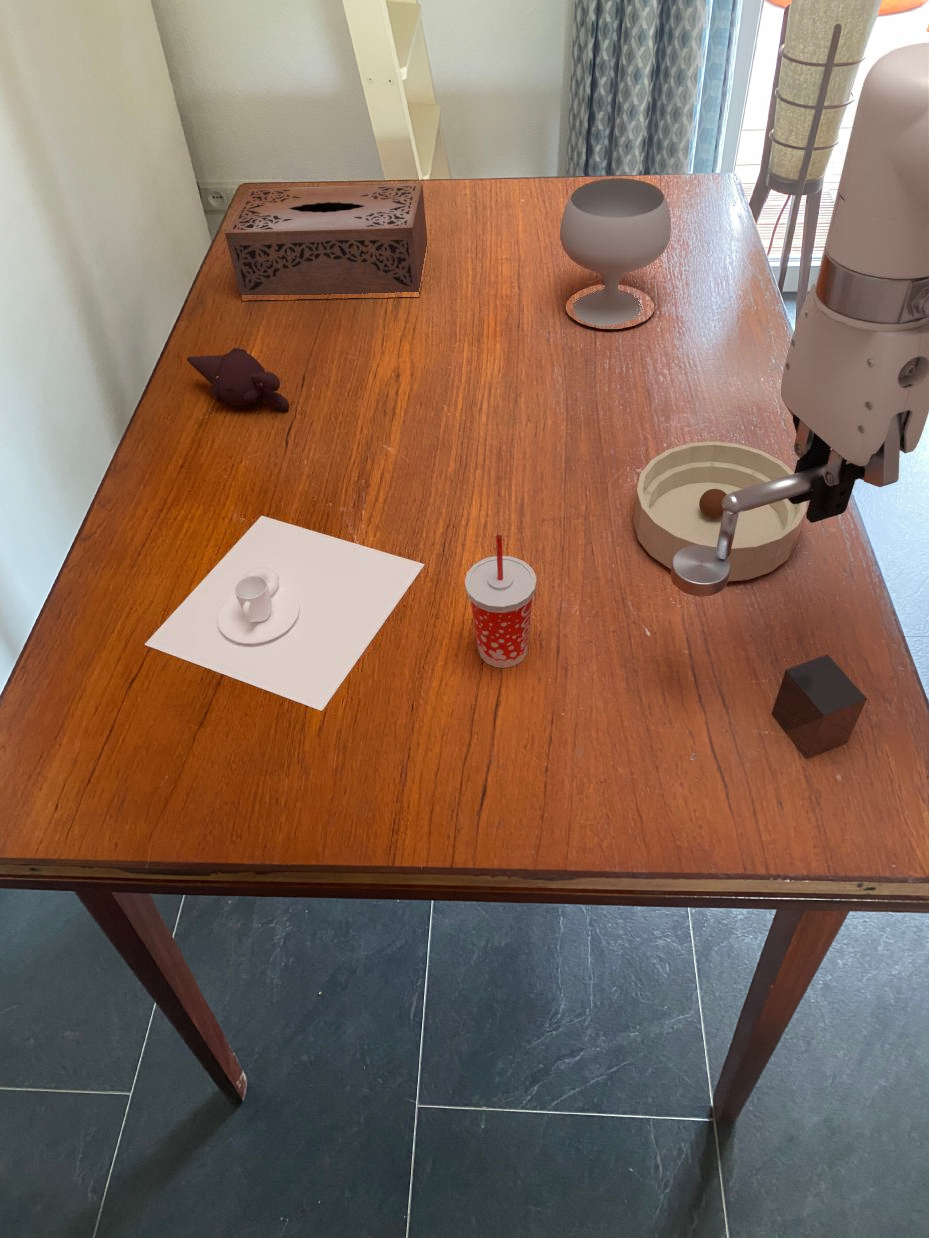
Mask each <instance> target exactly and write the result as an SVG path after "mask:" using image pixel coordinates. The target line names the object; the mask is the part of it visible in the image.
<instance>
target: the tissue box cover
mask: <svg viewBox="0 0 929 1238" xmlns="http://www.w3.org/2000/svg"><path fill="white" fill-rule="evenodd" d="M232 216H233V217H232V218H231V220H230V222H229V224H228V226H227V228H226V230H225V231H224V235H225V236H224V237H225V240H226V244H227V248H228V251H229V255H230V259H231V264H232V268H233V272H234V275H235V280H236V283H237V287H238V291H239V295H240V296H241V295H322V294H323V295H327V294H329V295H331V294H362V293H363V294H366V293H367V294H368V293H389V292H390V293H395V292H400V293H401V292H419V288H420V282H421V276H422V270H423V264H424V258H425V253H426V247H427V241H428V232H427V219H426V208H425V198H424V187H423V182H413V183H412V182H407V183H406V182H404V183H401V182H400V183H374V184H373V183H372V184H346V185H345V184H344V185H342V184H341V185H339V184H338V185H311V186H310V185H309V186H280V187H279V186H278V187H277V186H276V187H275V186H274V187H250V188H247V190H246V191H245V194H244V195H243V197H242V199H241V201H240V203H239V205H238V206H237V209H236V210H235V213H234V214H233V215H232Z"/></svg>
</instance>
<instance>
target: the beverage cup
mask: <svg viewBox="0 0 929 1238" xmlns="http://www.w3.org/2000/svg"><path fill="white" fill-rule="evenodd" d="M495 547H496V551H495V552H496V555H495V556H490V557H486V558H485V557H484V558H483V559H481V560H479V561H477V562H476V563H474V564H473V565H472V566H471V567H470V569H469V570H467V572H466V575H465V578H464V579H465V580H464V587H465V592H466V595H467V598H468V600H469V601H470V602H469V603H470V608H471V615H472V619H473V627H474V631H475V632H474V633H475V638H476V645H477V651H478V654H479V657H480V658H481V660H483V662H485V664H487V665H490V666H492V667H494V668H502V669H506V668H511V667H515V666H516V665H518V664H520V663H521V662H523V660H524V659H525V658H526V656H527V655H528V649H529V642H530V641H529V640H530V628H531V616H532V606H533V605H532V604H533V597H534V596H535V595H536V589H537V576H536V573H535V571H534V568H532V566H530V565H529V564H528V563H527V562H525V560H521V559H519V558H517V557H514V556H511V555H510V556H509V555H503V537H502V535H501V534H497V535H495Z"/></svg>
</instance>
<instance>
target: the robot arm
mask: <svg viewBox="0 0 929 1238" xmlns="http://www.w3.org/2000/svg"><path fill="white" fill-rule="evenodd" d="M862 83H863V84H862V87H861V90H860V94H859V97H858V101H857V104H856V108H855V109H856V110H855V114H854V117H853V118H854V119H853V123H852V127H851V130H850V131H851V132H850V135H849V139H848V144H847V147H846V153H845V156H844V157H845V158H844V160H843V165H842V170H841V173H840V179H839V183H838V187H837V191H836V196H835V200H834V204H833V208H832V213H831V217H830V221H829V226H828V230H827V234H826V238H825V243H824V248H823V252H822V255H821V260H820V264H819V269H818V272H817V276H816V277H817V278H816V279H814V281H813V283H812V285H811V287H810V289H809V291H808V293H807V296H806V298H805V300H804V302H803V305H802V308H801V310H800V313H799V316H798V318H797V321H796V324H795V327H794V330H793V333H792V337H791V340H790V344H789V347H788V350H787V354H786V359H785V363H784V367H783V372H782V377H781V383H780V396H781V399H782V402H783V403H784V405H785V407H786V409H787V410H788V412H789V414H790V415H791V417H792V423H793V426H794V430H795V434H796V436H795V439H794V440H795V441H794V444H793V451H794V455H796V457H798V458H799V459H797V461H796V465H795V468H794V471H793V472H794V474H795V473H798V472H801V471H805V470H808V469H811V468H815V467H818V466H821V465H825V464H827V465H826V469H825V472H824V476H821V477H818V478H817V479H816V481H815V484H814V488H813V491H810V492H806V493H803V494H800V495H797V496H794V497H790V498H788V500H789V501H790V502H791V503H792V504H799V503H802V502H806V501H807V502H808V501H809V502H808V504H807V511H806V514H805V518H806V520H807V521H808V522H809V523H811V524H814V523H817V522H820V521H824V520H826V519H827V520H828V519H830V518H833V517H836V516H840V515H842V514H844V513H845V512H846V511H847V509H848V505H849V502H850V500H851V495H852V493H853V490H854V487H855V484H856V480H862V481H863V482H864V483H866V484H869V485H872V486H874V487H877V488H883V487H886V486H890V485H892V484H895V483H897V482H898V481H899V478H900V456H901V455H900V453H901V452H902V453H903V454H905V455H906V454H908V453H912V452H914V451H915V450H916V448H917V446H918V445H919V442H920V440H921V437H922V434H923V432H924V428H925V426H926V422H927V419H928V416H929V42H920V43H914V44H910V45H909V44H908V45H905V46H901V47H898V48H894V49H893V50H890V51H888V52H887V53H886V54H884V55H882V56H881V57H879V58H878V59H877V60H876V61H875V63H874V64H873V65H872V66H871V67H870V69H869V70H868V72H867V74H866V75H865V78H864V80H863V82H862ZM847 461H849V462H851V463H848V464H846V462H847Z"/></svg>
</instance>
